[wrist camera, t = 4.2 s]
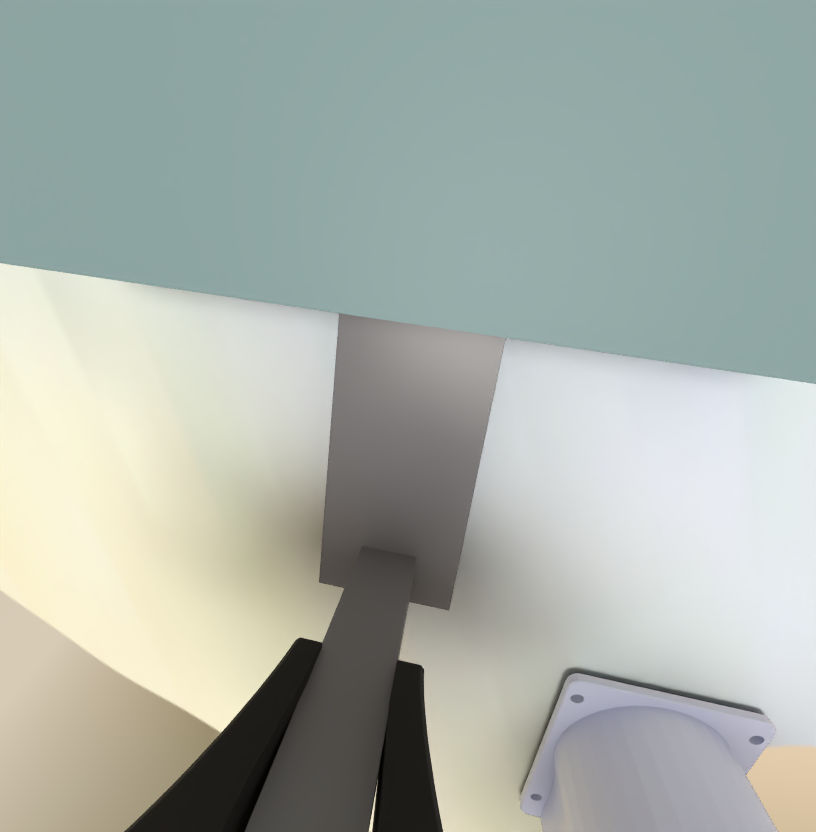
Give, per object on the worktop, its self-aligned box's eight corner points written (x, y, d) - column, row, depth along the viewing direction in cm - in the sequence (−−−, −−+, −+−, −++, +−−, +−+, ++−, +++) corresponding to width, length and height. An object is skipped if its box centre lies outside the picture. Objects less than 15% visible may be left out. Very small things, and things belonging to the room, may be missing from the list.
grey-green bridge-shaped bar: (761, 358, 11) (937, 401, 7) (140, 269, 13) (-12, 261, 9) (897, 61, 9) (1287, -141, 5) (111, 2, 11) (-118, -181, 6)
